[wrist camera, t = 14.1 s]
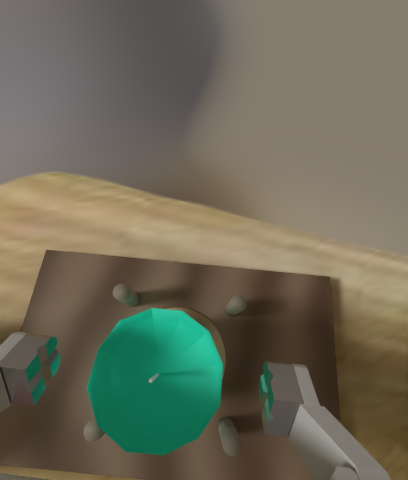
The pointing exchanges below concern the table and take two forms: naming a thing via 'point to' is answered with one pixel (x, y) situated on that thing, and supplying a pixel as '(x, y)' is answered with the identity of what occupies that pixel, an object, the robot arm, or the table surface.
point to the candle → (155, 382)
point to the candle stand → (227, 344)
